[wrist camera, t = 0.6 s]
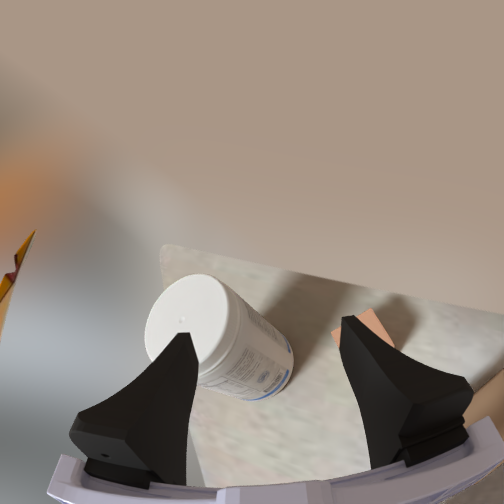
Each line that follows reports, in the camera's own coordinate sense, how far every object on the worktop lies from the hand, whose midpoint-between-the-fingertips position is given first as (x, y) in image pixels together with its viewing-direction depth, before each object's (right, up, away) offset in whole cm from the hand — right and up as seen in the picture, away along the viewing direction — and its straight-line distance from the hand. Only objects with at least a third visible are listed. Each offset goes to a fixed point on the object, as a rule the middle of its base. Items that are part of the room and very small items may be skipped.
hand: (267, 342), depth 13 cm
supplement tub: (0, -10, +20) cm, 22 cm away
